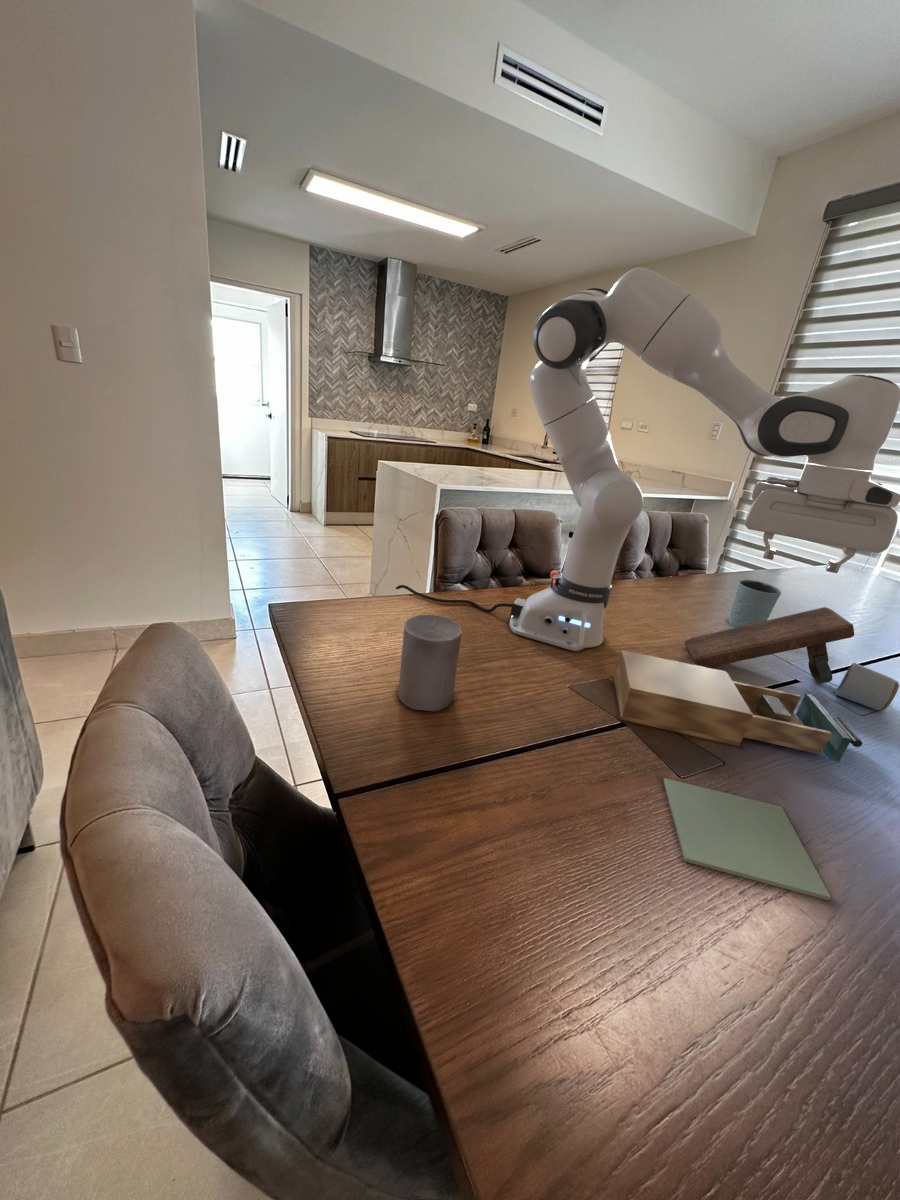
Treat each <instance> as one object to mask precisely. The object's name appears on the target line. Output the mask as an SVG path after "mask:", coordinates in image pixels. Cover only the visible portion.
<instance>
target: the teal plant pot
mask: <svg viewBox="0 0 900 1200" xmlns="http://www.w3.org/2000/svg"><path fill="white" fill-rule="evenodd" d="M781 594H782V590H781V589H780V588H778V587H777V586H774V585H772V584H770V583H766V582H763V581H759V580H755V579H754V580H753V579H740V580H739V581H738V584H737V588H736V592H735V596H734V599H733V602H732V606H731V609H730V611H729V616H728V619H727V620H728V621H727V622H728V624H729V625H731V626H733V628H736V627H740V626H745V625H749V624H753V623H758V622H762V621H766V620H769V617H770V616H771V614H772V612H773V609H774V607H775V605H776V603H777V601H778V600H779V598H780V597H781Z"/></svg>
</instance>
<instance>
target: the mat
mask: <svg viewBox="0 0 900 1200" xmlns="http://www.w3.org/2000/svg"><path fill="white" fill-rule="evenodd" d="M663 784H664V789H665V793H666V796H667V800H668V804H669V808H670V811H671V815H672V820H673V823H674V826H675V827H674V828H675V831H676V834H677V838H678V842H679V846H680V850H681V854H682V858H683V861H684V862H686V863H689V864H693V865H697V866H699V867H704V868H707V869H711V870H714V871H718V872H723V873H726V874H730V875H733V876H737V877H740V878H744V879H748V880H752V881H755V882H759V883H763V884H766V885H770V886H773V887H776V888H777V887H778V888H780V889H786V890H788V891H791V892H795V893H799V894H802V895H807V896H810V897H814V898H817V899H822V900H825V901H830V900H831V899H832V896H831V894H830V893H829V890H828V889H827V887H826V885H825V883H824V881H823V879H822V878H821V876H820V874H819V872H818V871H817V869H816V867H815V865H814V864H813V861H812V860H811V858H810V855H809V853H808V852H807V850H806V849H805V846H804V845H803V843H802V842H801V839H800V837H799V836H798V834H797V832H796V830H795V829H794V827H793V825H792V823H791V822H790V819H789V817H788V816H787V813H786V812H785V810H784V807H782V806H780V805H777V804H772V803H768V802H764V801H760V800H755V799H752V798H748V797H745V796H740V795H735V794H731V793H729V792H723V791H721V790H715V789H711V788H707V787H703V786H699V785H695V784H691V783H688V782H687V783H686V782H683V781H678V780H675V779H671V778H666V777H664V778H663Z"/></svg>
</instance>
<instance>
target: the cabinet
mask: <svg viewBox="0 0 900 1200" xmlns="http://www.w3.org/2000/svg"><path fill="white" fill-rule="evenodd" d="M733 681H734V680H732V678H731V676H730V675H729V673H728V672H727V671H726V670H721V669H717V668H713V667H709V668H707V667H702V666H697V665H695V664H692V663H686V662H682V661H678V660H677V661H676V660H672V659H667V658H662V657H659V656H658V657H657V656H652V655H648V654H642V653H639V652H633V651H628V650H624V649H622V650H621V651H620V655H619V659H618V662H617V666H616V669H615V673H614V676H613V682H614V687H615V693H616V699H617V705H618V711H619V716H620V720H621V721H626V722H630V723H634V724H639V725H643V726H649V727H652V728H656V729H661V730H666V731H670V732H675V733H679V734H682V735H688V736H692V737H697V738H701V739H705V740H709V741H713V742H718V743H722V744H727V745H732V746H735V747H740V746H741V744H742V742H743V739H744V738H745V737H744V735H745V732H746V730H747V728H748V726H749V723H750V721H751V718H752V717H753V714H752V712H751V710H750V709H749V707H748V705H747V704H746V702H745V701H744V699H743V697H742V696H741V694H740V693H739V691H738V689H737V688H736V686H735V685H734V683H733Z"/></svg>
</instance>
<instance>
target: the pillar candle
mask: <svg viewBox="0 0 900 1200" xmlns="http://www.w3.org/2000/svg"><path fill="white" fill-rule="evenodd" d="M462 633H463V628H462V626H461V625H460V624H459V623H458V622H456V621H455V620H453V619H451V618H449V617H446V616H442V615H437V614H419V615H418V614H417V615H414V616H412V617H410V618H407V620H406V621H405V623H404V625H403V637H402V646H401V659H400V671H399V678H398V679H399V680H398V690H397V694H398V695H397V697H398V699H399V700H400V702H401V703H402V704H403V705H404V706H406V707H408V708H410V709H412V710H415V711H425V712H438V711H441V710H443V709H445V708H447V707H448V706H450V704H451V703H452V700H453V699H454V693H455V684H456V679H457V678H456V677H457V669H458V662H459V661H458V660H459V656H460V646H461V642H462V641H461V640H462Z"/></svg>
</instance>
